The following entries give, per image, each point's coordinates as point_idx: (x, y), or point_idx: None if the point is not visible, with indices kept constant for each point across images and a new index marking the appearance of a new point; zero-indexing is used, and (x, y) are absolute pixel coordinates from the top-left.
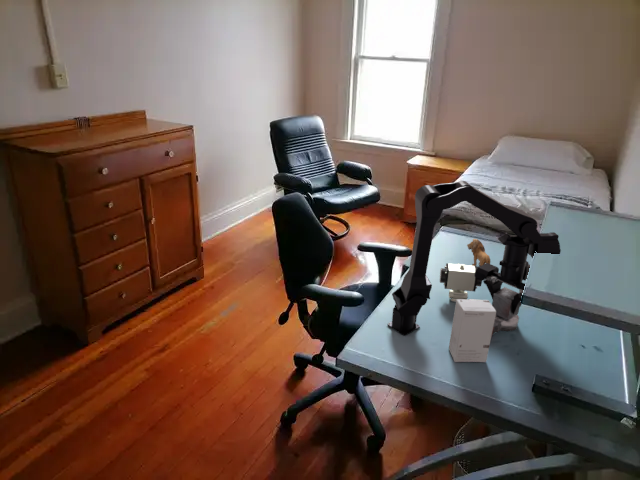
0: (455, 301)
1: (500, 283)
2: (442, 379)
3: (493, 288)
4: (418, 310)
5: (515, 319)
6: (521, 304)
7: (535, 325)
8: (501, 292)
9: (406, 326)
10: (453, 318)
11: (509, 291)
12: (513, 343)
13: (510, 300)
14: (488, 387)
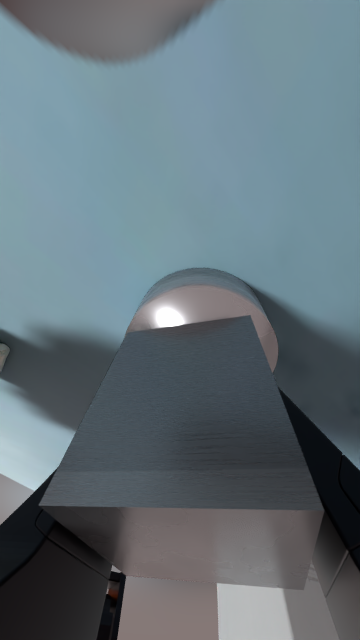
0: (1, 369)
1: (7, 634)
2: None
3: (92, 623)
4: (122, 598)
5: (263, 344)
6: (335, 450)
7: (318, 178)
8: (144, 562)
9: None
10: (220, 633)
11: (158, 530)
12: (313, 385)
13: (293, 587)
14: None
